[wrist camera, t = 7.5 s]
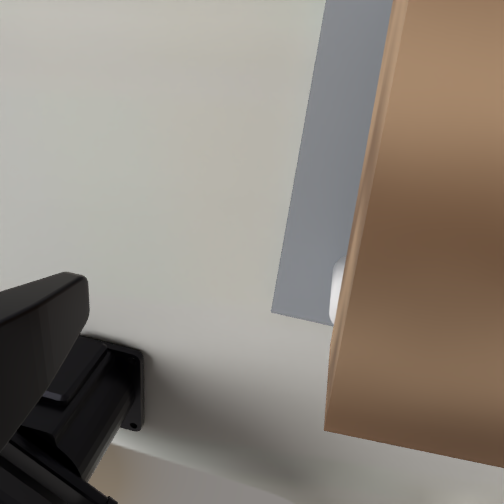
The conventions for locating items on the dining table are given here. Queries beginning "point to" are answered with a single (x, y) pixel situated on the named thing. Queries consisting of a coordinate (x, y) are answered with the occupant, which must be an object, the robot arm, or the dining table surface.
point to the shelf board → (428, 243)
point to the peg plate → (331, 159)
